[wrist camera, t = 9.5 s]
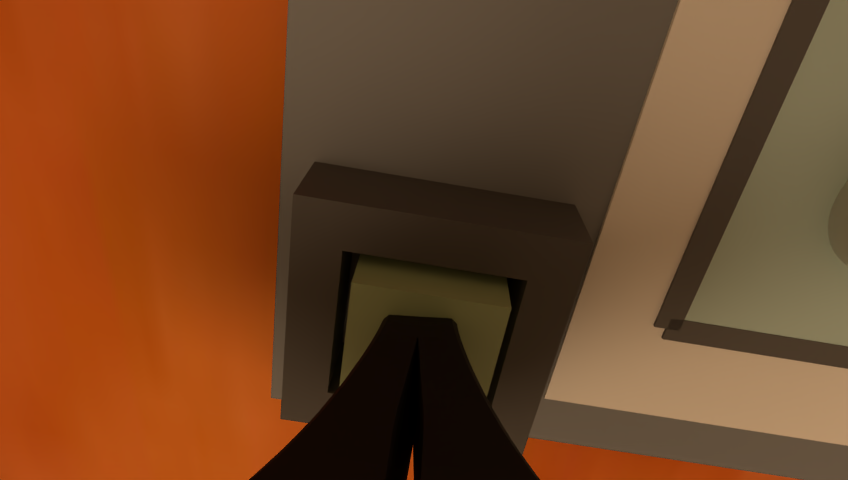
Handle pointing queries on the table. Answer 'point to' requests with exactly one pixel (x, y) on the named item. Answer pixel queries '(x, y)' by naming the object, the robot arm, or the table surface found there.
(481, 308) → the button
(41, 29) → the table surface
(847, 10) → the colouring board
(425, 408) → the robot arm
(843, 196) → the marker
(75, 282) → the table surface
